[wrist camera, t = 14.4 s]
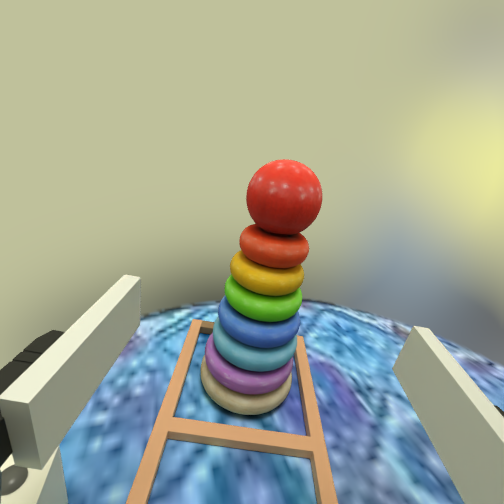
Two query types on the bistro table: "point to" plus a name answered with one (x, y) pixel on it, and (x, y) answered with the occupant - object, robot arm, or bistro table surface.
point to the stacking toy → (263, 293)
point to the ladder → (235, 428)
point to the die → (34, 483)
